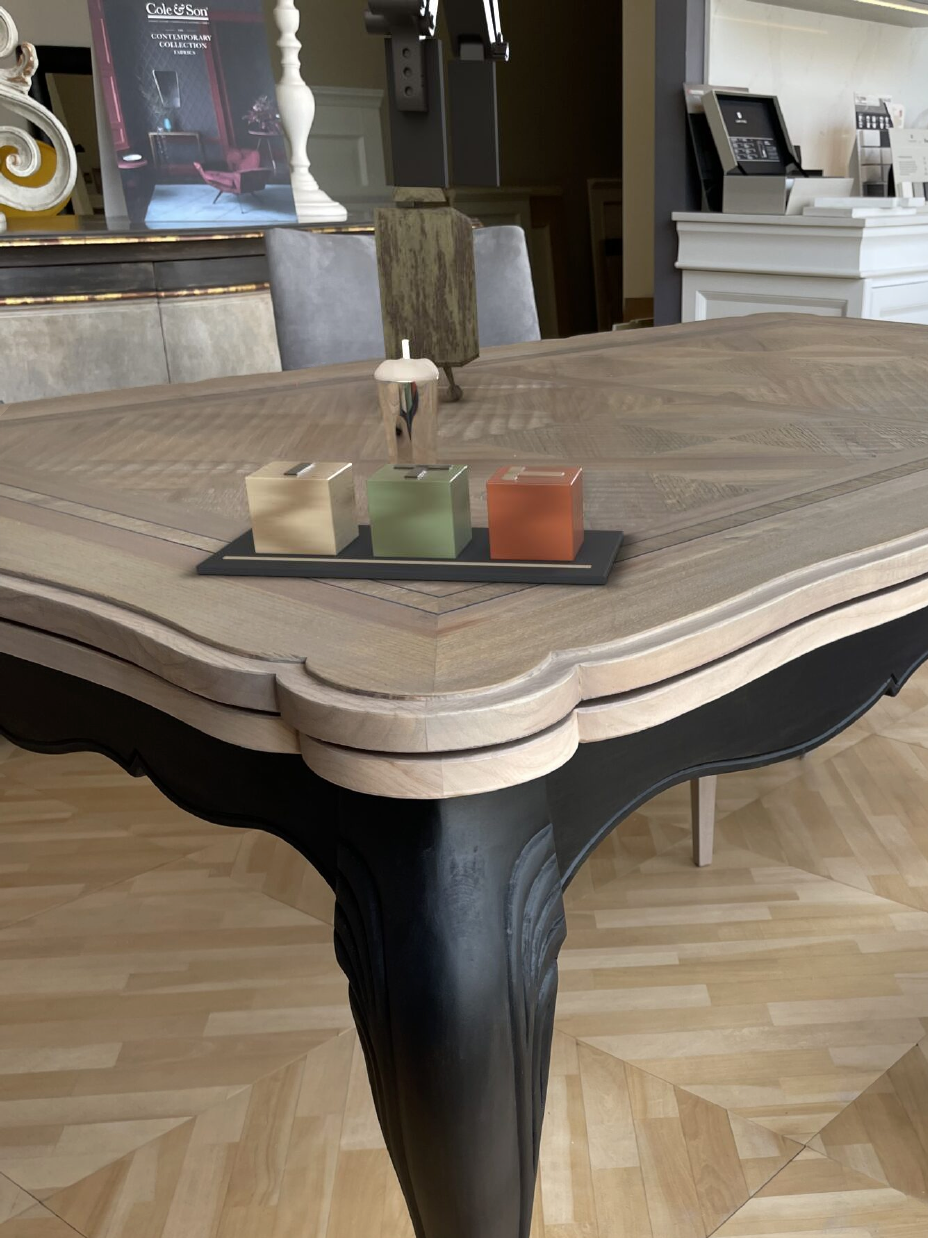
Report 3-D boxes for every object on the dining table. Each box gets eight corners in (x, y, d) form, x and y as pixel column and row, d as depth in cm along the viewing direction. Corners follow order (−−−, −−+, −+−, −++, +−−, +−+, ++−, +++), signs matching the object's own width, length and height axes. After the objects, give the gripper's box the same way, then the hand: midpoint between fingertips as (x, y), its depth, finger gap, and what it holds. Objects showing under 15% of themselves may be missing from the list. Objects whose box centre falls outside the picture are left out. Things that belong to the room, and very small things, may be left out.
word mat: (196, 574, 76) (195, 565, 76) (261, 529, 86) (259, 521, 86) (604, 584, 75) (604, 575, 75) (623, 538, 85) (623, 529, 84)
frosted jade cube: (373, 557, 78) (365, 478, 76) (394, 536, 83) (387, 461, 80) (455, 559, 78) (450, 479, 76) (472, 538, 82) (467, 463, 80)
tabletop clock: (393, 391, 141) (370, 123, 129) (478, 390, 142) (462, 124, 130) (390, 413, 128) (364, 118, 116) (483, 411, 129) (466, 119, 117)
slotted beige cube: (255, 554, 79) (243, 475, 76) (282, 534, 83) (272, 459, 81) (336, 555, 78) (327, 477, 76) (359, 535, 83) (351, 460, 81)
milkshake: (447, 479, 100) (437, 339, 96) (446, 494, 96) (436, 348, 91) (387, 481, 100) (374, 340, 95) (383, 495, 95) (369, 348, 90)
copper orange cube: (490, 559, 78) (485, 480, 76) (505, 539, 82) (501, 463, 80) (573, 561, 78) (571, 482, 75) (584, 541, 82) (582, 465, 80)
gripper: (443, -406, 53) (469, 190, 63) (544, -235, 75) (551, 187, 85) (261, -406, 53) (316, 186, 63) (415, -236, 75) (438, 184, 85)
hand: (451, 187), depth 74 cm, fingers open, 13 cm apart
